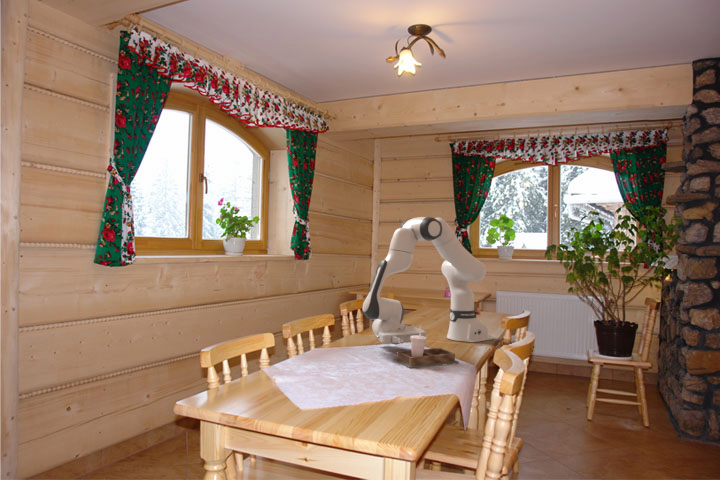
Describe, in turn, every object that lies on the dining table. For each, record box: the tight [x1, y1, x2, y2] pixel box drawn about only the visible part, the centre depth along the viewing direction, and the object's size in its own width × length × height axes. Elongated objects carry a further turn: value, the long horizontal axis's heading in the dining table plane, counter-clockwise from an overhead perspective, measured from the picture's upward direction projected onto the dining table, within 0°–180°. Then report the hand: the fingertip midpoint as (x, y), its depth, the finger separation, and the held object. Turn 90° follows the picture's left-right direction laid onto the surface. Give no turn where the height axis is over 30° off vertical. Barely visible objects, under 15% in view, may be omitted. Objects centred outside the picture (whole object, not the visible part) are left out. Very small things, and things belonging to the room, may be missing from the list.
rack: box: [396, 347, 456, 366], centre depth 188 cm, size 20×10×3 cm, turn 114°
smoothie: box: [410, 325, 427, 357], centre depth 185 cm, size 6×6×14 cm
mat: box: [393, 357, 460, 369], centre depth 188 cm, size 22×13×1 cm, turn 114°
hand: (411, 340), depth 190 cm, fingers open, 8 cm apart
